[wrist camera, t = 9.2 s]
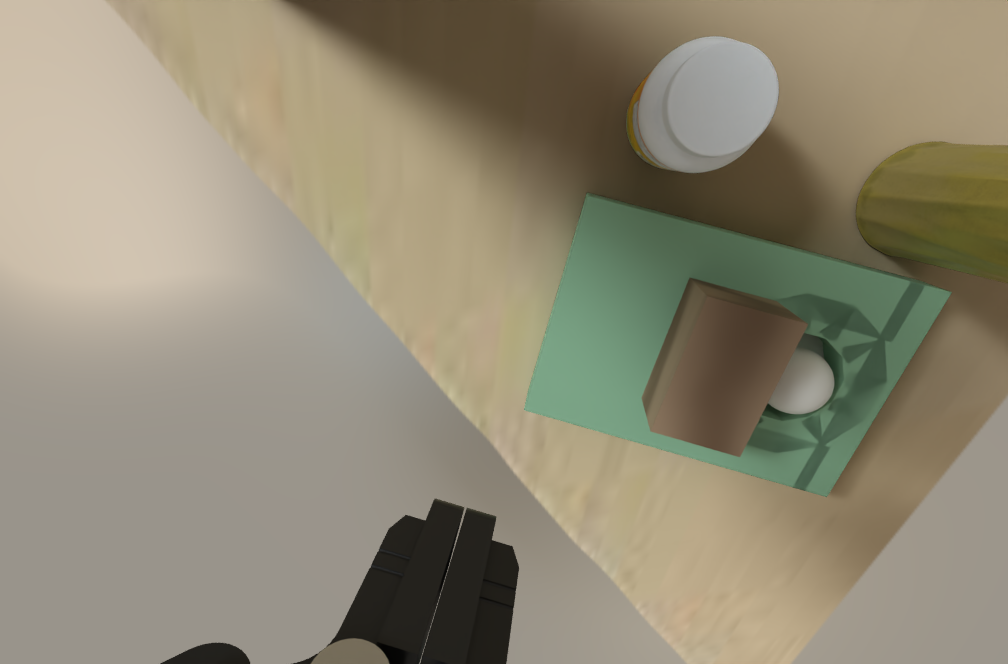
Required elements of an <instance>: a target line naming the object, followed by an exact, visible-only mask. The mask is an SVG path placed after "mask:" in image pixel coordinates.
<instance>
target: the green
mask: <svg viewBox="0 0 1008 664" xmlns="http://www.w3.org/2000/svg"><path fill="white" fill-rule="evenodd" d="M689 278H694V279H698V280H701V281H705V282H709V283H712V284H716V285H719V286H723V287H727V288H730V289H734V290H738V291H741V292H745V293H749V294H752V295H756V296H760V297H763V298H767V299H771V300H774V301H777V302H778V303H780V304H781V305H783V306H784V307H785V308H787V309H788V310H790V311H791V312H792V313H794V314H795V315H796V316H798V317H799V318H801V319H802V320H803V321H805V322H806V323H807V324H808V326H807V328H806V330H805V332H804V334H803V335H802V337H801V339H800V341H799V343H798V345H797V347H800V348H804V349H808V350H811V351H813V352H815V353H817V354H818V355H820V356H821V357H822V358H823V359H824V360H825V361H826V362H827V363H828V364H829V366H830V368H831V370H832V372H833V375H834V389H833V393H832V395H831V397H830V399H829V400H828V401H827V402H826V403H825V404H824V405H823V406H822V407H820V408H819V409H817V410H815V411H813V412H810V413H806V414H789V413H785V412H782V411H779V410H777V409H775V408H774V407H772V406H771V405H769V404H767V406H766V407H765V409H764V411H763V413H762V415H761V417H760V419H759V421H758V423H757V425H756V427H755V429H754V431H753V433H752V435H751V437H750V439H749V441H748V443H747V444H746V446H745V448H744V450H743V452H742V454H741V456H740V457H737V456H733V455H730V454H727V453H723V452H720V451H716V450H713V449H709V448H706V447H702V446H699V445H695V444H692V443H689V442H685V441H682V440H678V439H675V438H671V437H668V436H664V435H661V434H657V433H654V432H651V431H650V428H649V424H648V421H647V417H646V413H645V409H644V406H643V402H642V398H641V397H642V395H643V392H644V390H645V387H646V385H647V382H648V380H649V377H650V375H651V372H652V370H653V367H654V365H655V362H656V360H657V357H658V355H659V352H660V350H661V347H662V345H663V342H664V340H665V338H666V335H667V333H668V330H669V328H670V325H671V323H672V320H673V318H674V315H675V313H676V310H677V308H678V305H679V303H680V300H681V298H682V295H683V293H684V290H685V288H686V285H687V283H688V280H689ZM951 293H952V292H950V291H947V290H944V289H942V288H939V287H936V286H933V285H931V284H928V283H925V282H922V281H919V280H915V279H912V278H908V277H904V276H900V275H896V274H893V273H889V272H885V271H881V270H878V269H874V268H870V267H866V266H862V265H859V264H855V263H851V262H847V261H844V260H840V259H836V258H832V257H828V256H825V255H821V254H817V253H813V252H810V251H806V250H802V249H798V248H794V247H791V246H787V245H783V244H779V243H776V242H772V241H768V240H764V239H761V238H757V237H753V236H749V235H745V234H742V233H738V232H734V231H730V230H727V229H723V228H719V227H715V226H711V225H708V224H704V223H700V222H696V221H693V220H689V219H685V218H681V217H677V216H674V215H670V214H666V213H662V212H659V211H655V210H651V209H647V208H643V207H640V206H636V205H632V204H628V203H625V202H621V201H617V200H613V199H609V198H606V197H602V196H598V195H594V194H591V193H587V194H586V197H585V201H584V204H583V207H582V211H581V214H580V218H579V221H578V224H577V228H576V231H575V234H574V238H573V241H572V245H571V248H570V251H569V255H568V258H567V261H566V265H565V268H564V272H563V275H562V278H561V282H560V285H559V288H558V292H557V295H556V299H555V302H554V305H553V309H552V312H551V316H550V319H549V322H548V326H547V329H546V332H545V336H544V339H543V343H542V346H541V349H540V353H539V356H538V359H537V363H536V366H535V370H534V373H533V376H532V380H531V383H530V386H529V390H528V393H527V398H526V403H525V408H524V410H526V411H529V412H533V413H536V414H540V415H543V416H546V417H550V418H553V419H557V420H560V421H564V422H567V423H571V424H574V425H578V426H581V427H585V428H588V429H592V430H595V431H599V432H602V433H606V434H609V435H613V436H616V437H620V438H623V439H626V440H630V441H633V442H637V443H640V444H644V445H647V446H651V447H654V448H658V449H661V450H665V451H668V452H672V453H675V454H679V455H682V456H686V457H689V458H693V459H696V460H700V461H703V462H707V463H710V464H713V465H717V466H720V467H724V468H727V469H731V470H734V471H738V472H741V473H745V474H748V475H752V476H755V477H759V478H762V479H766V480H769V481H773V482H776V483H780V484H783V485H787V486H790V487H793V488H797V489H800V490H804V491H807V492H811V493H814V494H818V495H821V496H825V497H827V496H828V494H829V493H830V491H831V489H832V488H833V486H834V485H835V483H836V481H837V480H838V478H839V476H840V475H841V473H842V471H843V470H844V468H845V467H846V465H847V463H848V462H849V460H850V458H851V457H852V455H853V453H854V452H855V450H856V448H857V447H858V445H859V444H860V442H861V440H862V439H863V437H864V435H865V434H866V432H867V430H868V429H869V427H870V426H871V424H872V422H873V421H874V419H875V417H876V416H877V414H878V412H879V411H880V409H881V408H882V406H883V404H884V403H885V401H886V399H887V398H888V396H889V394H890V393H891V391H892V390H893V388H894V386H895V385H896V383H897V381H898V380H899V378H900V376H901V375H902V373H903V372H904V370H905V368H906V367H907V365H908V363H909V362H910V360H911V358H912V357H913V355H914V354H915V352H916V350H917V349H918V347H919V345H920V344H921V342H922V340H923V339H924V337H925V336H926V334H927V332H928V331H929V329H930V327H931V326H932V324H933V322H934V321H935V319H936V317H937V316H938V314H939V313H940V311H941V309H942V308H943V306H944V304H945V303H946V301H947V299H948V298H949V296H950V295H951Z"/></svg>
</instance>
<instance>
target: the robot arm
mask: <svg viewBox="0 0 1008 664" xmlns="http://www.w3.org/2000/svg"><path fill="white" fill-rule="evenodd" d="M463 511H464V507H462V506H458V505H455V504H452V503H448V502H445V501H442V500H438V499H435V500H434V501H433V504H432V507H431V509H430V511H429V514H428V516H427V519H426V521H425V520H421V519H418V518H415V517H411V516H408V515H405V516H404V517H403V518H402V519H400V520H399V521H398V522H397V523H395V524H394V525H393V526H392V527H391V528H389V530H388V532H387V534H386V536H385V538H384V540H383V542H382V544H381V546H380V549H379V551H378V552H377V555H376V556H375V559H374V561H373V563H372V565H371V568H370V569H369V571H368V573H367V575H366V577H365V579H364V581H363V583H362V585H361V587H360V589H359V591H358V593H357V595H356V597H355V600H354V601H353V603H352V605H351V607H350V609H349V611H348V613H347V615H346V618H345V620H344V622H343V624H342V626H341V628H340V630H339V631H338V633H337V635H336V636H335V638H334V639H333V640H332V642H331V643H330V644H329V645H328V646H327V647H326V648H324V649H323V650H322V651H320V652H319V653H318V654H316V655H314V656H312V657H311V658H309V659H306V660H304V661H301V662H297V663H293V664H419V662H420V659H421V656H422V659H421V663H420V664H506V661H507V654H508V646H509V639H510V631H511V624H512V616H513V607H514V600H515V594H516V593H515V591H516V586H517V579H518V571H519V566H518V563H517V559H516V556H515V553H514V550H513V547H512V546H509V545H506V544H502V543H499V542H496V541H493V540H492V536H493V531H494V526H495V522H496V516H493V515H490V514H486V513H483V512H480V511H476V510H473V509H469V508H467V510H466V513H465V516H464V519H463V523H462V526H461V529H460V533H459V536H458V539H457V542H456V546H455V549H454V552H453V548H454V544H455V540H456V537H457V533H458V529H459V526H460V522H461V518H462V515H463ZM452 552H453V556H452V559H451V555H452ZM450 559H451V562H450ZM449 563H450V566H449ZM448 566H449V569H448ZM447 570H448V572H447ZM446 573H447V576H446ZM445 577H446V579H445ZM444 580H445V582H444ZM443 583H444V586H443ZM442 587H443V589H442ZM441 590H442V592H441ZM440 593H441V596H440ZM439 597H440V599H439ZM438 600H439V602H438ZM437 603H438V605H437ZM436 606H437V609H436ZM435 610H436V612H435ZM434 613H435V616H434ZM433 616H434V619H433ZM432 620H433V622H432ZM431 623H432V625H431ZM430 626H431V629H430ZM429 630H430V632H429ZM428 632H429V636H428ZM427 636H428V639H427ZM426 639H427V642H426ZM425 643H426V646H425ZM424 646H425V649H424ZM423 649H424V652H423ZM422 653H423V655H422ZM161 664H250V661H249V659H248V657H247V656H246V654H245V653H244V652H243V651H242V650H240V649H239V648H237V647H235V646H233V645H230V644H226V643H209V644H204V645H200V646H197V647H194V648H192V649H189V650H187V651H185V652H183V653H181V654H179V655H177V656H175V657H173V658H171V659H169V660H167V661H165V662H163V663H161Z"/></svg>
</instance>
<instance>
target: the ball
mask: <svg viewBox="0 0 1008 664" xmlns="http://www.w3.org/2000/svg"><path fill="white" fill-rule="evenodd" d="M833 389H834V375H833V372H832V370H831V368H830V366H829V364H828V363H827V362H826V361H825V360H824V359H823V358H822V357H821V356H820V355H818V354H817V353H815V352H813V351H811V350H808V349H804V348H800V347H796V349H795V351H794V353H793V355H792V357H791V359H790V361H789V363H788V365H787V367H786V369H785V370H784V372H783V374H782V376H781V378H780V380H779V382H778V384H777V386H776V388H775V390H774V392H773V394H772V396H771V398H770V400H769V402H768V404H769V405H771V406H772V407H774V408H775V409H777V410H779V411H782V412H785V413H789V414H806V413H810V412H813V411H815V410H817V409H819V408H820V407H822V406H823V405H824V404H825V403H826V402H827V401H828V400H829V399H830V397H831V395H832V393H833Z"/></svg>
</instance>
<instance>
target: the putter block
mask: <svg viewBox="0 0 1008 664" xmlns="http://www.w3.org/2000/svg"><path fill="white" fill-rule="evenodd" d="M807 326H808V324H807V323H806V322H805V321H803V320H802V319H801V318H799V317H798V316H796V315H795V314H794V313H792V312H791V311H790V310H788V309H787V308H785V307H784V306H783V305H781V304H780V303H778V302H777V301H774V300H771V299H767V298H763V297H760V296H756V295H752V294H749V293H745V292H741V291H738V290H734V289H730V288H727V287H723V286H719V285H716V284H712V283H709V282H705V281H701V280H698V279H694V278H689V280H688V283H687V285H686V288H685V290H684V293H683V295H682V298H681V300H680V303H679V305H678V308H677V310H676V313H675V315H674V318H673V320H672V323H671V325H670V328H669V330H668V333H667V335H666V338H665V340H664V342H663V345H662V347H661V350H660V352H659V355H658V357H657V360H656V362H655V365H654V367H653V370H652V372H651V375H650V377H649V380H648V382H647V385H646V387H645V390H644V392H643V395H642V397H641V398H642V402H643V406H644V409H645V413H646V417H647V421H648V424H649V428H650V431H651V432H654V433H657V434H661V435H664V436H668V437H671V438H675V439H678V440H682V441H685V442H689V443H692V444H695V445H699V446H702V447H706V448H709V449H713V450H716V451H720V452H723V453H727V454H730V455H733V456H737V457H740V456H741V454H742V452H743V450H744V448H745V446H746V444H747V443H748V441H749V439H750V437H751V435H752V433H753V431H754V429H755V427H756V425H757V423H758V421H759V419H760V417H761V415H762V413H763V411H764V409H765V407H766V406H767V404H768V402H769V400H770V398H771V396H772V394H773V392H774V390H775V388H776V386H777V384H778V382H779V380H780V378H781V376H782V374H783V372H784V370H785V369H786V367H787V365H788V363H789V361H790V359H791V357H792V355H793V353H794V351H795V349H796V347H797V345H798V343H799V341H800V339H801V337H802V335H803V334H804V332H805V330H806V328H807Z"/></svg>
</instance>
